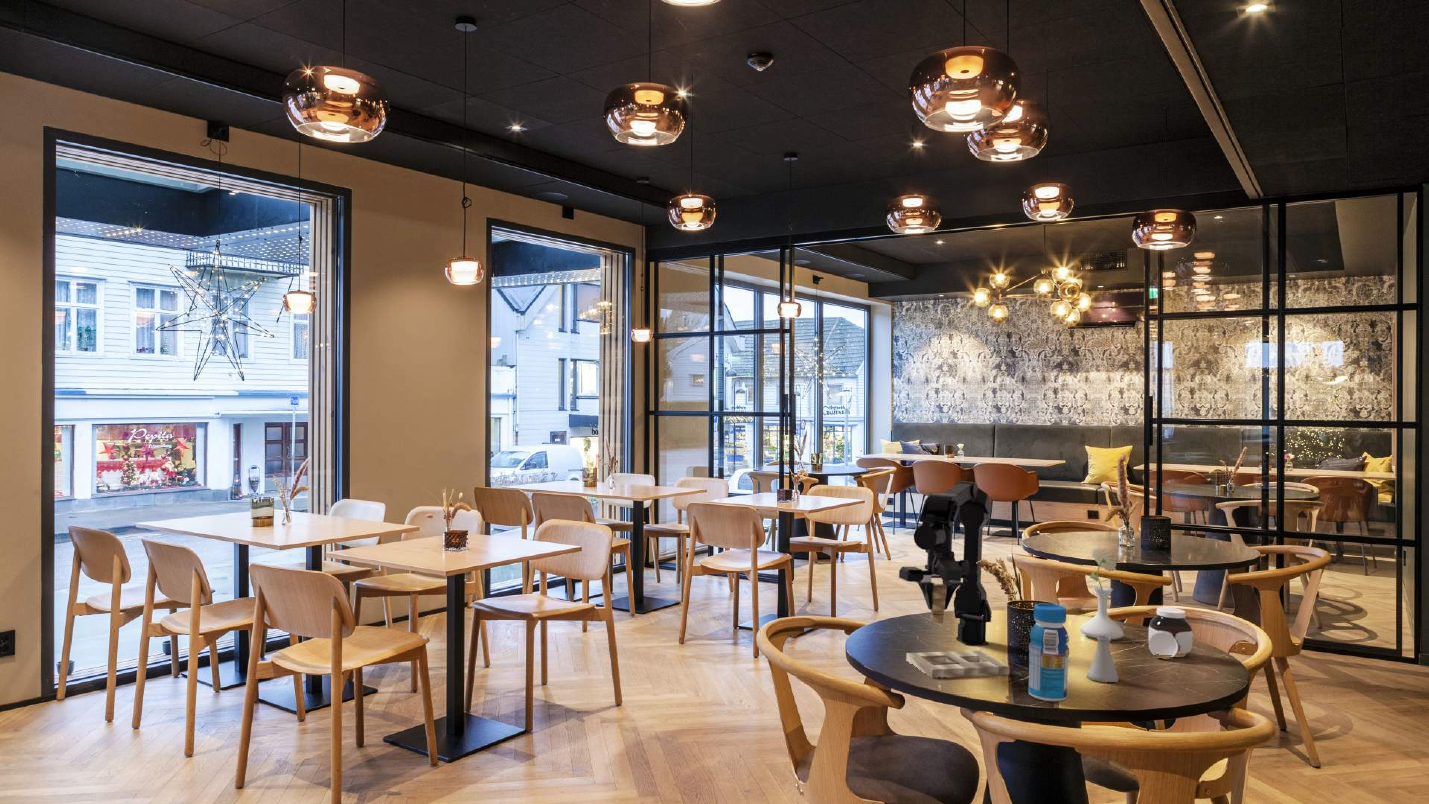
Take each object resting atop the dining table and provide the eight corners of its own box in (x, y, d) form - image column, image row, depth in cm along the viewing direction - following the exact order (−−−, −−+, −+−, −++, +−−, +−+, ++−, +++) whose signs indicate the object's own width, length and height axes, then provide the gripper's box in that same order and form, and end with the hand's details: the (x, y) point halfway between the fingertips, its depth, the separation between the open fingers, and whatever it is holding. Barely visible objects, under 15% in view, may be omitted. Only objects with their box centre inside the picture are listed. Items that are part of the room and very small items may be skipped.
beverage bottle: (1019, 694, 207) (1022, 604, 207) (1042, 688, 212) (1045, 600, 212) (1052, 705, 200) (1055, 612, 200) (1075, 698, 205) (1078, 608, 205)
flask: (1122, 685, 216) (1123, 642, 216) (1089, 682, 218) (1090, 639, 218) (1115, 676, 223) (1116, 634, 223) (1083, 673, 225) (1085, 632, 225)
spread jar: (1183, 651, 248) (1185, 607, 248) (1201, 663, 237) (1203, 617, 237) (1137, 649, 249) (1138, 605, 249) (1152, 660, 238) (1154, 615, 238)
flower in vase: (1130, 643, 255) (1133, 552, 254) (1089, 642, 255) (1091, 551, 255) (1111, 631, 268) (1113, 544, 267) (1071, 630, 268) (1074, 543, 268)
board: (979, 658, 235) (979, 649, 235) (1009, 674, 222) (1009, 665, 222) (906, 661, 231) (906, 652, 231) (931, 678, 217) (932, 668, 217)
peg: (940, 619, 231) (942, 583, 231) (948, 623, 227) (949, 586, 227) (925, 619, 230) (927, 583, 230) (932, 623, 226) (934, 586, 226)
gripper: (918, 550, 219) (915, 616, 219) (990, 551, 223) (988, 616, 223) (899, 543, 230) (896, 606, 230) (968, 544, 234) (966, 606, 234)
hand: (937, 609), depth 229 cm, fingers closed on peg, 4 cm apart
